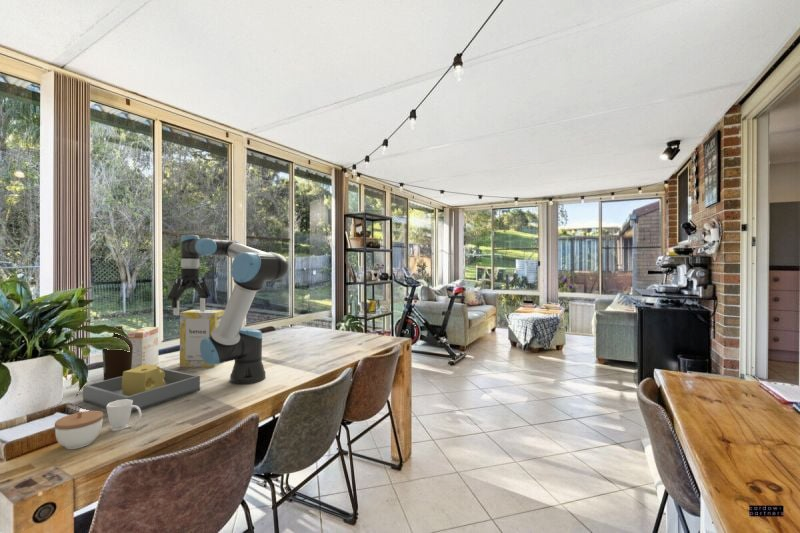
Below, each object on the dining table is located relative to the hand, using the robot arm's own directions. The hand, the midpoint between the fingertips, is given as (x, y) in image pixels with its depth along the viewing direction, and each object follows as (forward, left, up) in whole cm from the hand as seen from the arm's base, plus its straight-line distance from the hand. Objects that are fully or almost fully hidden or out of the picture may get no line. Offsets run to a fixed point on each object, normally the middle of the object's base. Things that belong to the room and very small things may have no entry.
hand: (189, 313), depth 170 cm
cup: (-31, +44, -30) cm, 62 cm away
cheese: (-7, +24, -29) cm, 38 cm away
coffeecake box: (+33, +1, -30) cm, 45 cm away
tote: (-7, +24, -30) cm, 39 cm away
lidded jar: (-31, +56, -30) cm, 71 cm away
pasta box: (+13, -17, -30) cm, 37 cm away
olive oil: (+19, +20, -30) cm, 41 cm away
